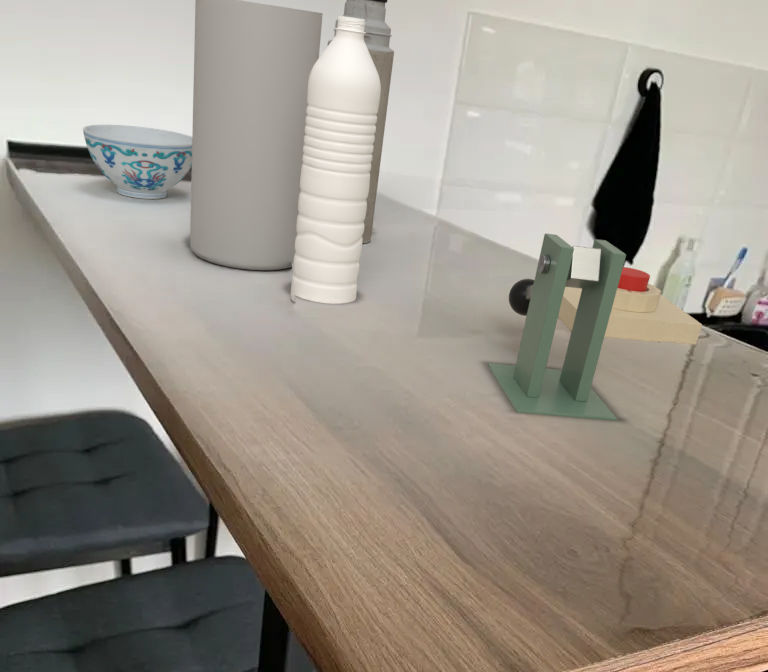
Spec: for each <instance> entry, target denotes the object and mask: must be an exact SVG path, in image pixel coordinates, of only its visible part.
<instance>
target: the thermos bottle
mask: <svg viewBox="0 0 768 672" xmlns="http://www.w3.org/2000/svg"><path fill="white" fill-rule="evenodd" d="M386 3H388V0H346V1H345V3H344V9H343V15H342V16H344V17H351V18H357V19H363V20H365V28H364V31H363V32H366V33H364V42H365V44H366V46H367V49H368V51H369V53H370V56H371V58H372V60H373V63H374V65H375V67H376V70H377V72H378V75H379V78H380V84H381V93H380V102H379V108H378V113H377V114H376V116H377V122H376V124H375V126H376V131H375V133H374V136H375V140H374V143H373V146H374V149H373V152H372V161H371V170H370V172H369V173H370V184H369V193H368V197H367V198H366V201H367V210H366V216H365V219H364V221H363V223H364V232H363V234H362V238H363V241H362V245H363V243H364V244H368V243H370V242H371V240H372V233H373V227H374V217H375V210H376V209H375V208H376V203H377V193H378V186H379V185H378V184H379V179H380V170H381V161H382V152H383V146H384V136H385V131H386V130H385V129H386V120H387V115H388V114H387V112H388V104H389V97H390V89H391V79H392V74H393V66H394V56H395V51H394V50H393V49H392V48H391V47H390V41H391V37H392V33H391V32H392V28H391V27H390V26H389V25H388V24H387V23H386V15H387V14H386V13H387V9H386ZM337 25H338V18H337V19H336V20H335V24H334V28H333V32H334V35H333V36H334V37H335V35H336V29H335V28H338V27H337ZM334 37H333V38H334ZM332 40H333V39H329V40H328V41H327V46H328V45H329V44H330V42H331V41H332Z"/></svg>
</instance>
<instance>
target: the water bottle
mask: <svg viewBox="0 0 768 672" xmlns="http://www.w3.org/2000/svg"><path fill="white" fill-rule="evenodd" d="M337 19H338V25H337V27H338V28H335V27H334V29H336V35H335V34H334V35H335V37H333V38H332V39H331V40H332V41H331V42H330V44H329V45H328V44H327V47H326V48H325V49H324V50H323V52H322V53H321V54H320V55H319V59H318V60H317V61H316V63H315V64H314V66H313V68H312V70H311V73H310V76H309V80H308V94H307V103H308V106H307V108H306V113H307V116H306V120H305V122H306V126H305V134H306V135H305V136H304V143H305V145H304V146H303V152H304V154H303V157H302V161H303V164H302V168H301V176H300V189H301V192H300V194H299V200H298V211H299V214H298V217H297V224H296V232H297V236H296V239H295V251H296V253H295V255H294V261H293V262H292V271H293V274H292V276H291V285H290V286H291V287H290V299H291V301H292V302H293V303H294V304H296V303H297V302H296V297H298V298H301V299H304V300H307V301H310V302H314V303H321V304H332V305H333V304H334V305H335V304H337V305H339V304H340V305H341V304H348V303H351V302H354V301H355V300H356V299H357V294H358V278H359V274H360V267H361V266H360V263H361V262H360V259H361V257H362V251H363V244H362V241H363V238H362V234H363V232H364V223H363V221H364V219H365V216H366V210H367V201H366V198H367V197H368V193H369V184H370V173H369V172H370V170H371V161H372V152H373V149H374V146H373V143H374V140H375V136H374V133H375V131H376V126H375V124H376V122H377V116H376V114H377V113H378V108H379V102H380V93H381V84H380V78H379V75H378V72H377V70H376V67H375V65H374V63H373V60H372V58H371V56H370V53H369V51H368V49H367V46H366V44H365V42H364V33H366V32H363V31H364V28H365V20H363V19H357V18H351V17H344V16H343V15H338V16H337Z"/></svg>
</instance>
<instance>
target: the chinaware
mask: <svg viewBox="0 0 768 672" xmlns="http://www.w3.org/2000/svg"><path fill="white" fill-rule="evenodd" d="M82 132H83V137H84V141H85V144H86V147H87V150H88V152H89V156H90V157H91V159H92V161H93V163H94V165H95V166H96V167H97V169H98V170H99V171H100V173H102V175H103V176H104V177H105V178H106V179H108V180H109V181H110V182H111V183H112V184H114V185H116V192H117V193H118V194H119V195H122V196H125V197H129V198H136V199H142V200H143V199H144V200H158V199H165V198H167V196H168V190H170V189H171V188H173V187H175V186H176V185H178V184H179V183H180V182H181V181H182V180H183V179H184V178H185V177H186V175H187V174H188V173H189V171H190V170H191V169H192V135H189V134H184V133H181V132H177V131H171V130H165V129H160V128H153V127H145V126H135V125H127V124H126V125H125V124H91V125H86V126H84V127H83V128H82Z"/></svg>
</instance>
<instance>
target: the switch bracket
mask: <svg viewBox="0 0 768 672" xmlns="http://www.w3.org/2000/svg"><path fill="white" fill-rule="evenodd" d="M572 246H573V245H570V244H569V243H568V242H567V241H565V240H564V239H563V238H561V236H559V235H558V234H553V233H544V234H543V240H542V244H541V248H540V252H539V253H540V254H539V257H538V263H537V267H536V272H535V275H534V279H533V280H534V285H533V289H532V294H531V298H530V303H529V307H528V312H527V316H525V322H524V326H523V330H522V336H521V340H520V344H519V348H518V353H517V358H516V362H515V364H513V365H512V364H503V363H502V364H501V363H491V362H488V363H487V367H488V369H489V370H490V371H491V373H492V374H493V376H494V378H495V380H496V382H497V383H498V384H499V387H500V388H501V391H503V393H504V394H505V396H506V398H507V400H508V401H509V403H510V404H511V406H512V407H513V409H514V411H515V412H516V413H517V414H528V415H540V416H552V417H553V416H554V417H564V418H565V417H567V418H579V419H591V420H603V421H617V420H618V419H617V417H616V415H615V414H614V413H613V412H612V411H611V409H610V408H609V407H608V406H607V404H605V402H604V401H603V400H602V399H601V397H600V396H599V395H598V394H597V393H596V392H595V391H594V389H593V388H592V384H593V380H594V378H595V377H594V376H595V373H596V370H597V365H598V362H599V358H600V355H601V350H602V346H603V343H604V341H605V337H604V336H605V332H606V329H607V325H608V321H609V317H610V314H611V310H612V306H613V303H614V299H615V295H616V291H617V288H618V284H619V280H620V276H621V273H622V269H623V267H624V264H625V261H626V257H627V254H626V253H625V252H623V251H622V250H621V249H619V248H618V247H617V246H614V244H611V242H609V241H607V240H604V239H598V238H597V239H594V240H593V244H592V247H591V248H597V249H601V258H600V270H599V281H598V282H596V283H594V284H592V285H590V286H588V287H586V288H584V289H582V292H581V296H580V300H579V304H578V308H577V312H576V316H575V320H574V324H573V328H572V331H571V332H570V336H569V341H568V344H567V349H566V353H565V357H564V360H563V364H562V368H561V369H558V368H549V367H548V368H547V365H548V360H549V356H550V353H551V348H552V344H553V340H554V336H555V332H556V327H557V323H558V320H559V319H558V318H559V317H558V315H559V311H560V307H561V302H562V298H563V294H564V290H565V286H566V281H567V277H568V273H569V269H570V265H571V260H572V256H573V252H574V248H573V247H572Z"/></svg>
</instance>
